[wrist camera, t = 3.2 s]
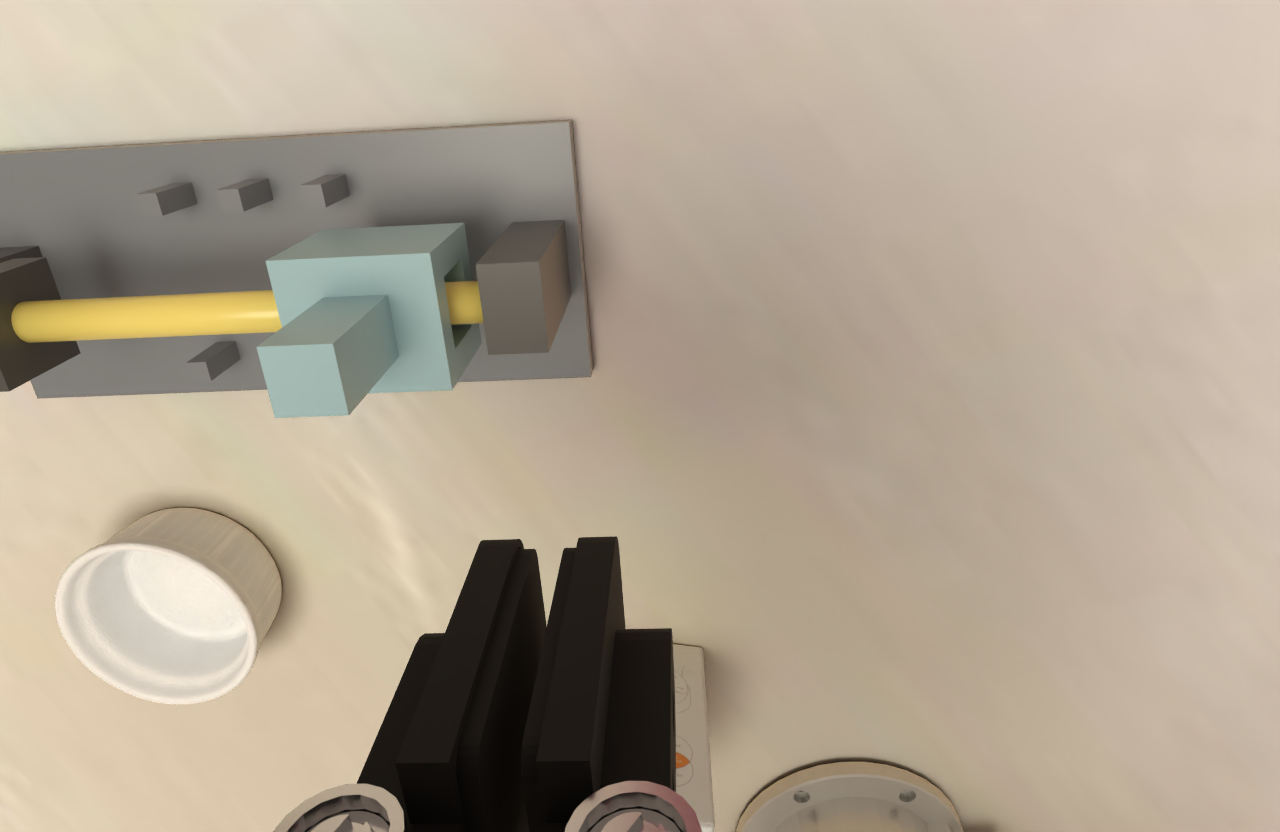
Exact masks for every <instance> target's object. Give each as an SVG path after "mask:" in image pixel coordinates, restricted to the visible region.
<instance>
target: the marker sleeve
mask: <svg viewBox="0 0 1280 832" xmlns="http://www.w3.org/2000/svg"><path fill="white" fill-rule="evenodd" d="M266 265H267V269H268V273H269V278H270V282H271V286H272V290H273V294H274V298H275V302H276V306H277V310H278V314H279V318H280V322H281V326H282V328H281V329H280V330H278V331H277V332H276V333H274V334H273V335H272V336H270V337H269V338H268V339H266V340H265V341H264V342H262V343H261V344H259V345H258V346H257V347H256V348H257V351H258V355H259V359H260V363H261V367H262V370H263V374H264V378H265V382H266V385H267V389H268V393H269V397H270V400H271V404H272V408H273V412H274V416H275V418H287V417H314V416H342V415H349V414H350V413H351V412H352V411H353V410H354V409H355V407H356V406H357V405H358V404H359V403H360V402H361V400H362V399H363V398H364V397H365V396H366V395H367V394H368V393H391V392H417V391H443V390H453V388H454V387H455V385H456V383H457V382H458V380H459V379H460V377H461V376H462V374H463V372H464V371H465V369H466V368H467V366H468V364H469V363H470V361H471V360H472V358H473V356H474V355H475V353H476V352H477V350H478V348H479V347H480V345H481V344H482V342H481V335H480V329H479V324H455V325H451V320H450V314H449V308H448V301H447V295H446V289H445V282H460V281H473V280H472V273H471V266H470V259H469V252H468V245H467V238H466V231H465V225H464V223H447V224H427V225H407V226H387V227H367V228H347V229H327V230H321V231H319V232H317V233H315V234H314V235H312V236H310V237H308V238H306V239H304V240H303V241H301V242H299V243H297V244H295V245H293V246H292V247H290V248H288V249H286V250H284V251H282V252H281V253H279V254H277V255H275V256H273V257H271V258H270V259H268V260H266Z"/></svg>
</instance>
